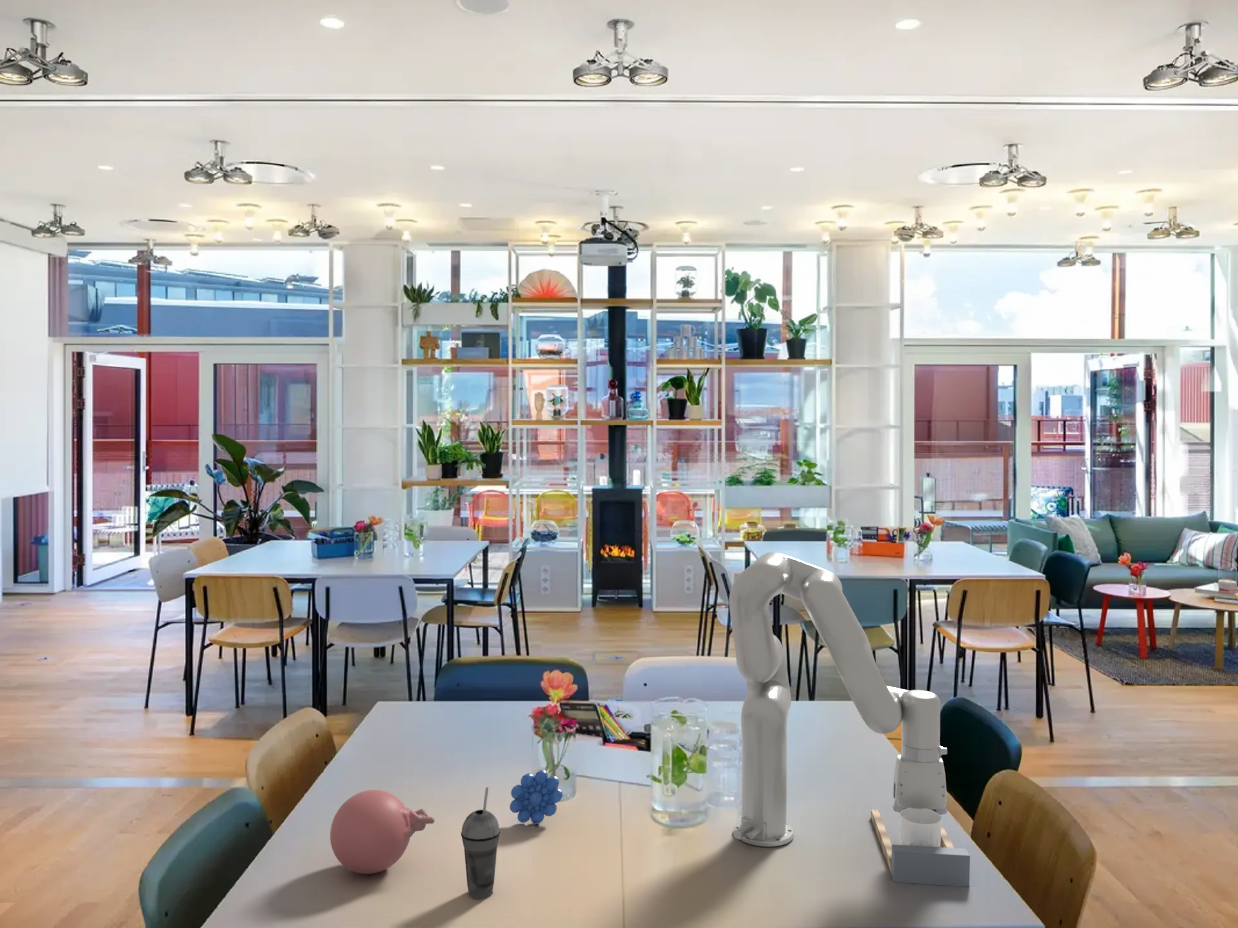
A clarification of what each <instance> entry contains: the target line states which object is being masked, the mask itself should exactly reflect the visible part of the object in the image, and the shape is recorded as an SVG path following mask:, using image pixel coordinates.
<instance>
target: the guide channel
mask: <svg viewBox="0 0 1238 928" xmlns="http://www.w3.org/2000/svg"><path fill="white" fill-rule="evenodd" d="M870 819H871V821H872V826H873V827H874V830H875V833H876V835H877V838H878V841H879V845H880V846H881V850H882V852H883V856H884V858H885V860H886V864H887V867H888V866H889V867H888V869H889V872H890V873H891V866H892V843H891V839H890V838H889V835H888V833H887V829H886V827H885V825H884V821H883V819H882V817H881V814H880V812H879V809H875V808H871V809H870ZM940 847H945V848H955V845H953V843H952V841H951V839H950V836H949V835H948V833H947V832H946V829H945V828H944V826H943V823H941V841H940Z"/></svg>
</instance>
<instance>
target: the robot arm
mask: <svg viewBox="0 0 1238 928" xmlns="http://www.w3.org/2000/svg"><path fill="white" fill-rule="evenodd" d="M780 594H782V595H784V596H787V597H790V598H792V599H794V600H798V601H801V603H802V604H803V605H802V606H804V607H803V608H805V611H806V613H807V615H808V616H809V618H810V619H811V622H812V624H813V625H814V628H815V629H816V631H817V633H818V635H819V636H820V638H821V640H822V641H823V644H824V645H825V647H826V649H827V651H828V653H829V655H830V657H831V660H832V662H833V664H834V666H835V668H836V670H837V672H838V673H839V676H840V678H841V680H842V682H843V685H844V687H845V689H846V691H847V694H848V695H849V697H850V699H851V701H852V703H853V704H854V706H855V708H856V710H857V712H858V714H859V715H860V717H861V719H862V721H863V722H864V723H865V725H866V726H867V728H869V729H870V730H871V731H873V732H875V733H876V734H880V735H887V734H891V733H893V732H894V731H896V730H897V729H898V728H899V727H900V724H901V729H900V730H901V731H900V733H901V736H900V737H901V738H900V739H901V743H900V746H901V748H900V751H901V752H900V753H901V754H900V753H899V754H898V755H897V756H896V759H895V765H894V771H893V772H894V774H893V785H892V797H893V804H892V809H893V811H894V812H896V813H899V814H900V813H901V811H902V810H904V809H906V808H915V809H925V808H926V809H930V810H933V811H935V812H937V813H938V814H940V816H942V815H946V814H947V813H948V809H947V803H948V802H947V799H948V797H947V781H946V772H945V766H944V761H943V758H942V756H943V755H948V748H947V747H943V746H941V744H940V743H941V741H940V740H941V739H940V737H941V700H940V697H939V696H938V695H937V694H936V693H934V692H932V691H928V690H922V689H911V690H907V689H903V688H899V687H894V686H889V685H886V683H885V681H884V679H883V677H882V675H881V672H880V670H879V668H878V666H877V663H876V660H875V658H874V654H873V650H872V647H871V644H870V640H869V638H868V636H867V634H866V632H865V630H864V629H863V626H862V624H861V623H860V622H859V620H858V618H857V616H856V614H855V613H854V611H853V608H852V607H851V606H850V603H849V601H848V600H847V597H846V596H845V594H844V592H843V585H842V581H841V580H840V578H839V577H838V576H837V575H836V574H835V573H833V572H832V571H829V570H827V569H825V568H822V567H820V566H816V565H813V564H811V563H809V562H808V563H807V562H805V561H802V560H800V559H797V558H795V557H792V556H790V555H786V554H784V553H782V552H781V553H780V552H774V551H773V552H767V553H764V554H761V556H759V557H758V558H757V559H756V560H754V562H752V564H750V565H749V566H747V567H746V568H745V569H744V570H743V571H741V573H740V574H739V575H738V576H737V577H736V579H735V580H734V582H733V583H732V585H731V588H730V592H729V599H728V600H729V601H728V602H729V614H730V621H731V629H732V637H733V643H734V644H733V645H734V650H735V659H736V660H735V662H736V667H737V670H738V672H739V674H740V676H742V678H743V679H744V680H745V685H746V689H747V695H746V696H745V699H744V701H743V703H742V706H741V712H740V713H741V714H740V725H741V726H740V727H741V728H740V729H741V744H742V745H741V764H742V765H741V820H739V821H737V822H736V823H735V825H734V826H733V830H734V831H733V832H732V833H733V837H734V838H735V839H737V840H740V841H741V842H743V843H746V844H749V845H752V846H757V847H767V848H771V847H772V848H773V847H780V846H783V845H786V844H789V843H790V842H791V841H792V840H793V839H794V835H795V834H794V829H793V828H792V826H791V825H789V824H788V823H787V802H788V801H787V800H788V799H787V798H788V797H787V796H788V792H787V787H788V738H787V737H788V733H787V732H788V731H787V728H788V727H787V726H788V717H789V713H790V710H791V709H790V708H791V704H792V696H791V695H792V694H791V689H790V688H791V687H790V683H789V682H790V681H789V676H788V675H789V674H788V669H787V661H786V655H785V651H784V647H783V645H782V643H781V641H780V640H779V638H778V637H777V636H776V635H774V632H773V631H774V630H773V625H772V617H771V612H770V603H771V600H772V599H773V598H774V597H777V596H778V595H780Z"/></svg>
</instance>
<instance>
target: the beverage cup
mask: <svg viewBox="0 0 1238 928" xmlns="http://www.w3.org/2000/svg"><path fill="white" fill-rule="evenodd" d="M488 794H489V787H485V791H484V797H483V798H484V800H483V807H482V809H477V810H474V811H472V812H471V813H469V814H468V815H467V816H466V818H465V820H464V821H463V824H462V827H461V831H460V836H461V840H462V845H463V851H464V860H465V861H464V862H465V873H466V874H465V875H466V886H467V890H468V891H467V892H468V893H467V894H468V897H469V898H471V899H473V900H485V899H488V898H489V897H492V895H493V892H494V891H493V890H494V885H495V875H496V874H495V873H496V866H497V865H496V864H497V853H498V852H497V851H498V844H499V841H500V834H501V831H500V830H501V829H500V824H499V822H498V819H497V817H496V816H495V815H494V814H493V813H492V812H491V811H489V810H487V803H488V802H487V801H488V796H489V795H488Z"/></svg>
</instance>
